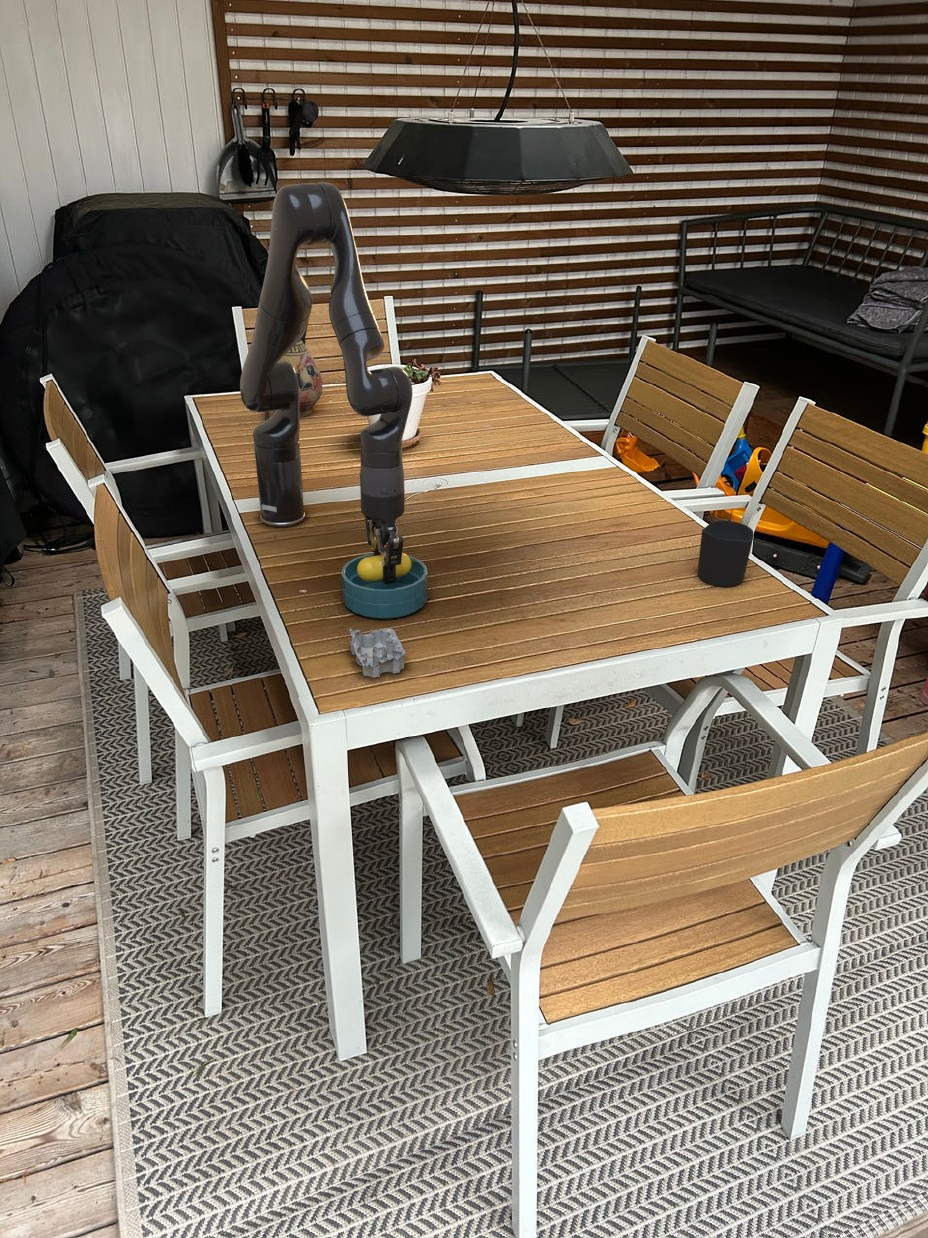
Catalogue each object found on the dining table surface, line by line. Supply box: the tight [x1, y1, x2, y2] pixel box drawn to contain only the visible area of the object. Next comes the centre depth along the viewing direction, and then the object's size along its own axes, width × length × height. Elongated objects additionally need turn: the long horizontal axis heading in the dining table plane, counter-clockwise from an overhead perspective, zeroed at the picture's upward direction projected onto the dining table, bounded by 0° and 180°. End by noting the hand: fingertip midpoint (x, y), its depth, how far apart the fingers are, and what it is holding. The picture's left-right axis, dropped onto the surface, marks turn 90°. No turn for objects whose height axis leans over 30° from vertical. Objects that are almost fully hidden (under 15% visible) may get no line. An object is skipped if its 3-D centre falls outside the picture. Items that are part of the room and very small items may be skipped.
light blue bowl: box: [341, 553, 428, 620], centre depth 171 cm, size 15×15×6 cm
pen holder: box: [697, 519, 755, 588], centre depth 181 cm, size 9×9×10 cm
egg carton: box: [348, 627, 407, 678], centre depth 153 cm, size 11×8×4 cm
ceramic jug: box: [278, 321, 323, 418], centre depth 263 cm, size 17×15×30 cm
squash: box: [357, 552, 417, 582], centre depth 169 cm, size 11×4×4 cm, turn 114°
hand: (384, 576), depth 170 cm, fingers closed on squash, 4 cm apart
